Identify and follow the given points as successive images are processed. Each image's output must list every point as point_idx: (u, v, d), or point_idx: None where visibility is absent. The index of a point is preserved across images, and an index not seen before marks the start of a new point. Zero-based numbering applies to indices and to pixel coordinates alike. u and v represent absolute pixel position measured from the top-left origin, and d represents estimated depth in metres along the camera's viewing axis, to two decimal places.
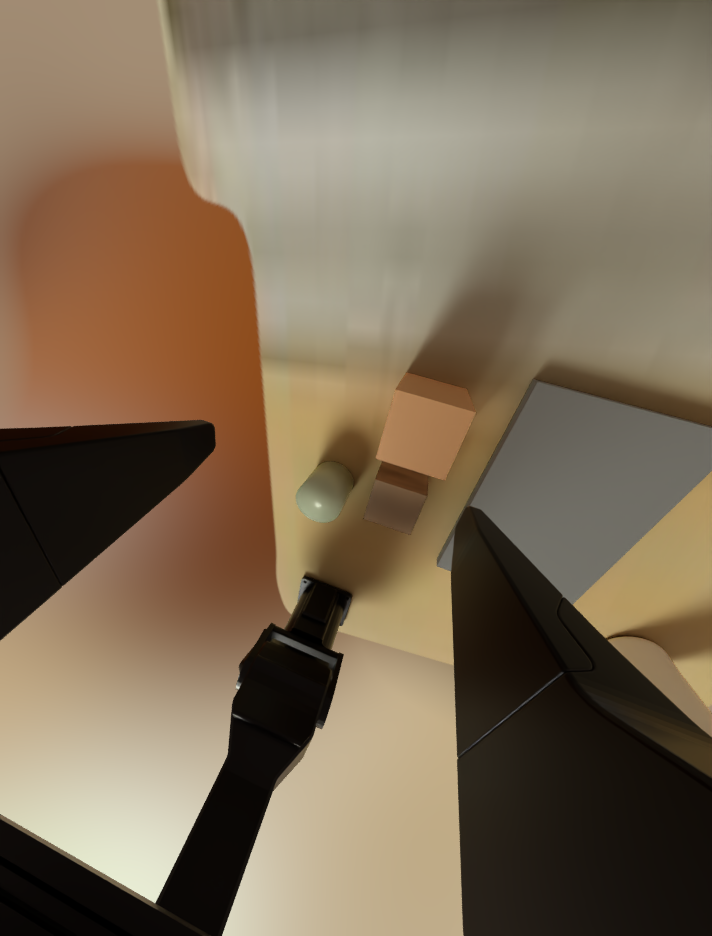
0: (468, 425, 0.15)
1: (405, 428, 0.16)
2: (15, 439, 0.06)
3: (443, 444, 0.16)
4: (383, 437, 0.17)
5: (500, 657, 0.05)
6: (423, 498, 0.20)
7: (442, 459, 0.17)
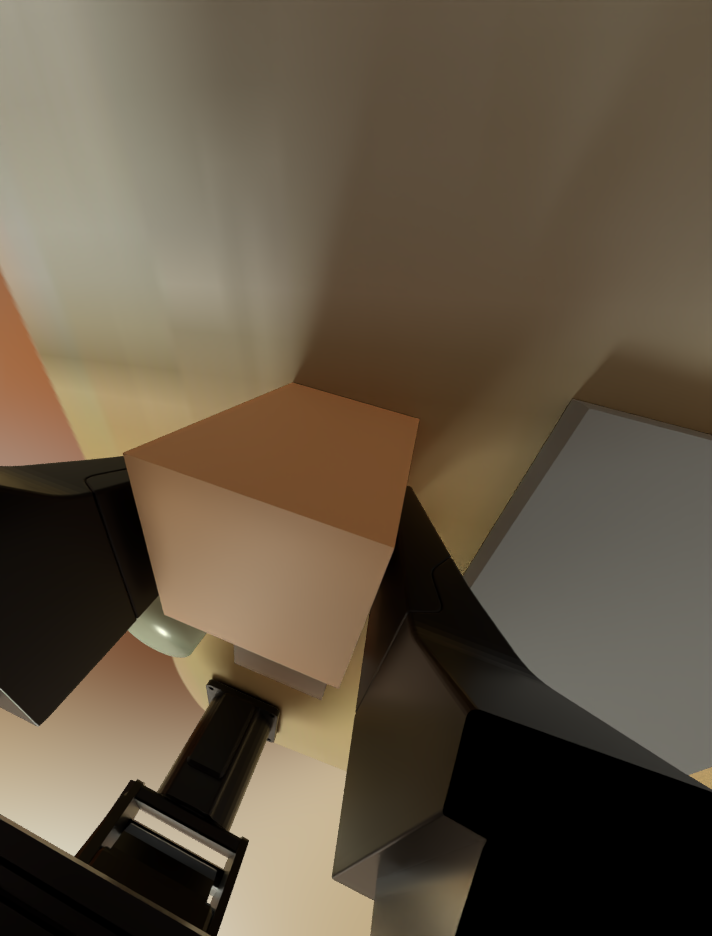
0: (375, 582, 0.04)
1: (198, 562, 0.05)
2: (106, 472, 0.05)
3: (312, 615, 0.05)
4: (157, 574, 0.06)
5: (385, 613, 0.05)
6: None
7: (319, 648, 0.06)
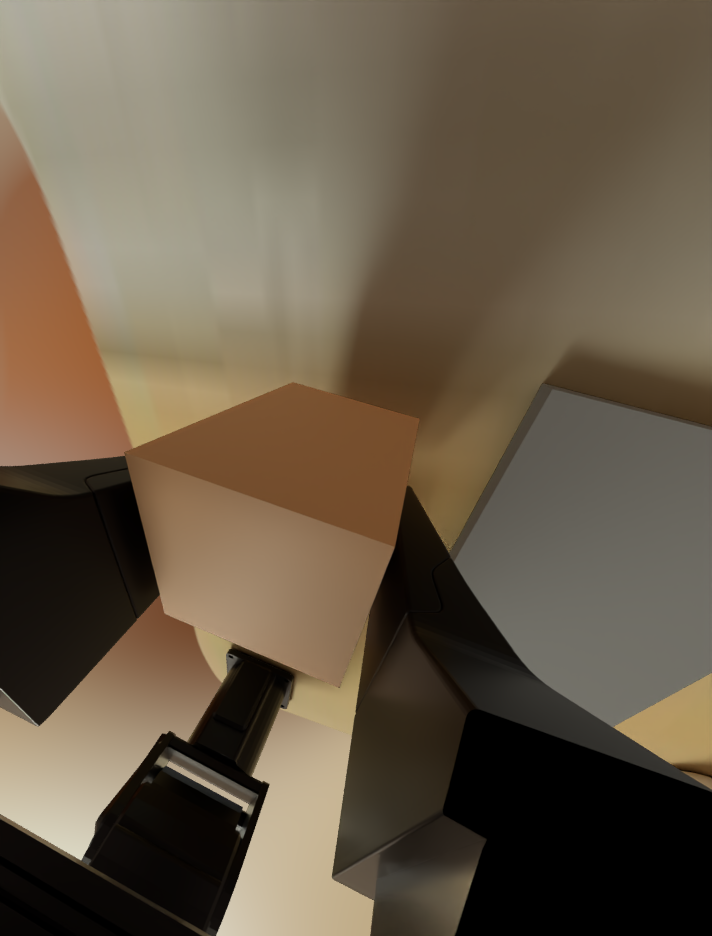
0: (375, 580, 0.04)
1: (200, 561, 0.05)
2: (106, 472, 0.05)
3: (312, 614, 0.05)
4: (159, 574, 0.06)
5: (385, 613, 0.05)
6: None
7: (320, 647, 0.06)
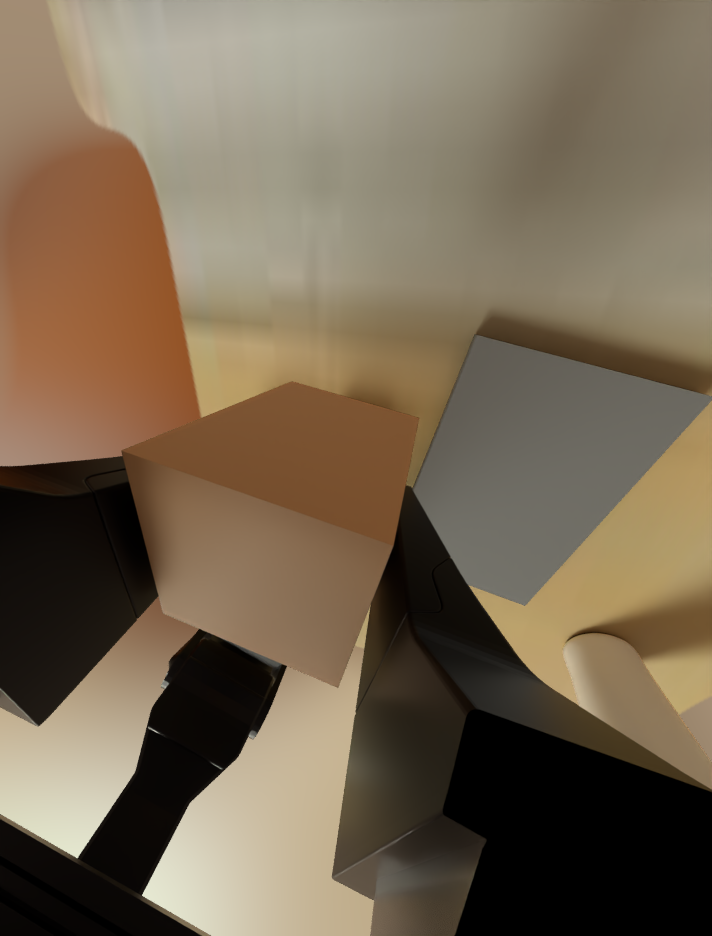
0: (374, 579, 0.04)
1: (198, 560, 0.05)
2: (106, 472, 0.05)
3: (310, 613, 0.05)
4: (156, 573, 0.06)
5: (385, 613, 0.05)
6: None
7: (318, 647, 0.06)
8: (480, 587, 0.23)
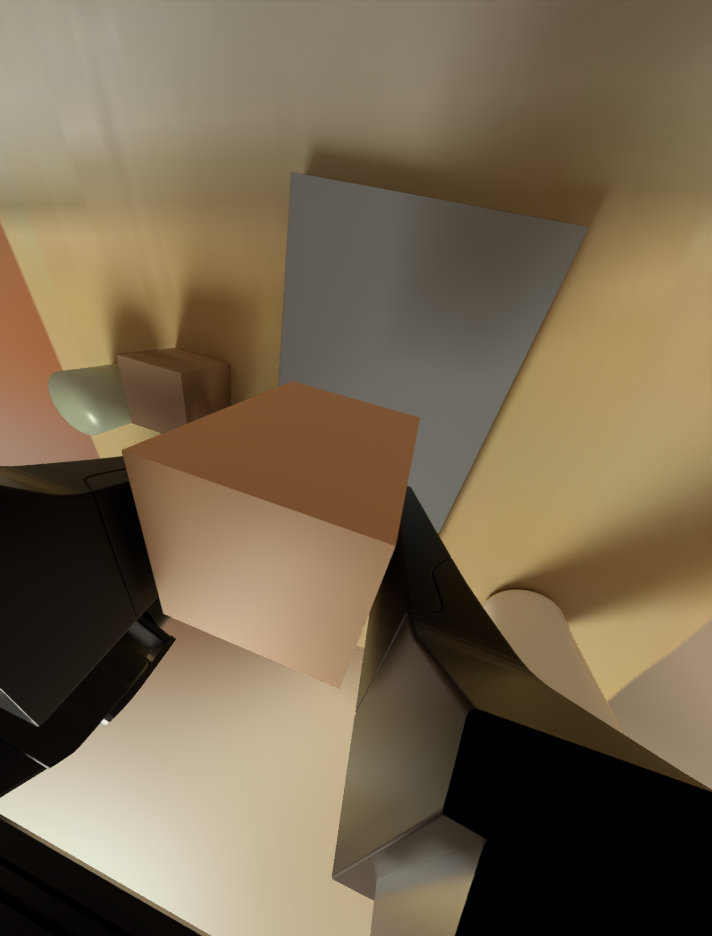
0: (375, 580, 0.04)
1: (198, 560, 0.05)
2: (106, 472, 0.05)
3: (312, 614, 0.05)
4: (157, 573, 0.06)
5: (385, 613, 0.05)
6: (178, 377, 0.14)
7: (319, 647, 0.06)
8: None
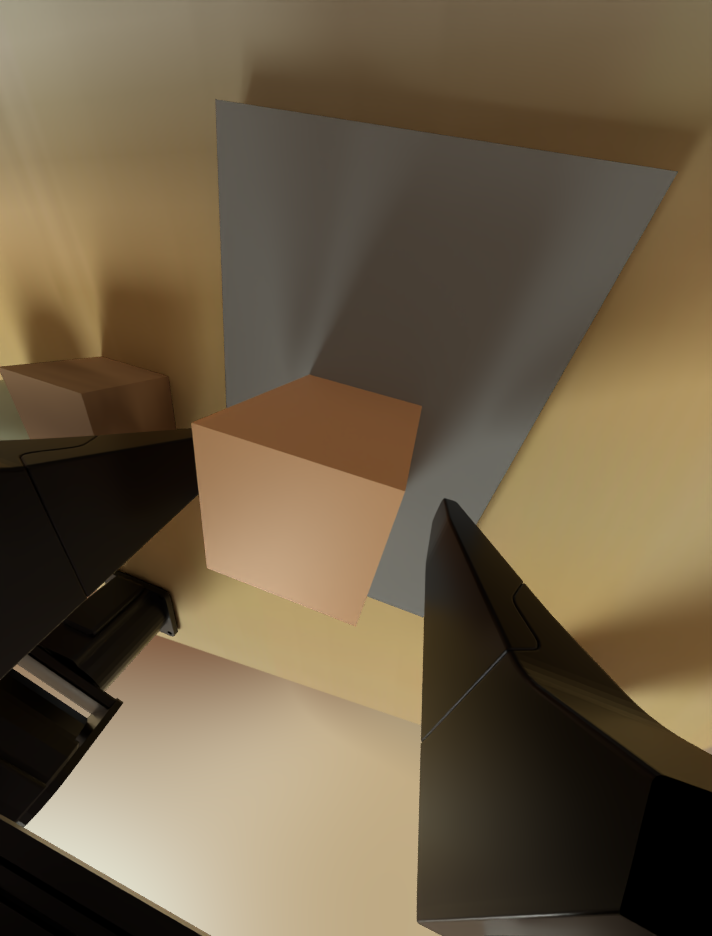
0: (389, 521, 0.05)
1: (244, 515, 0.06)
2: (45, 450, 0.05)
3: (337, 556, 0.06)
4: (206, 530, 0.07)
5: (459, 641, 0.05)
6: (79, 399, 0.11)
7: (341, 588, 0.07)
8: None
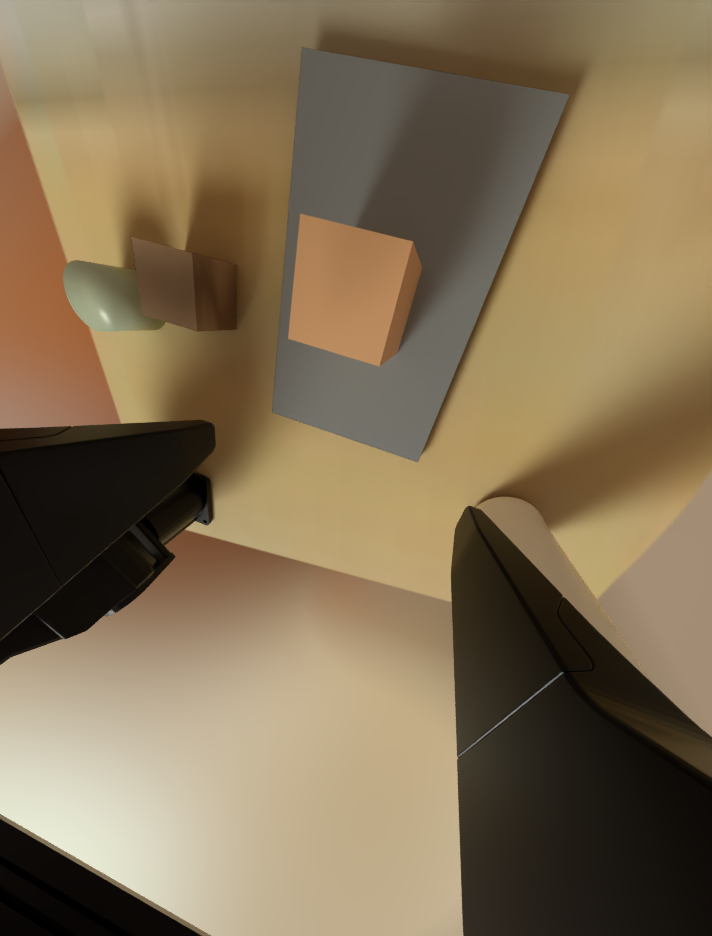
0: (403, 266, 0.11)
1: (320, 282, 0.12)
2: (15, 439, 0.06)
3: (372, 304, 0.11)
4: (294, 301, 0.12)
5: (500, 657, 0.05)
6: (189, 258, 0.15)
7: (373, 331, 0.12)
8: (370, 443, 0.21)
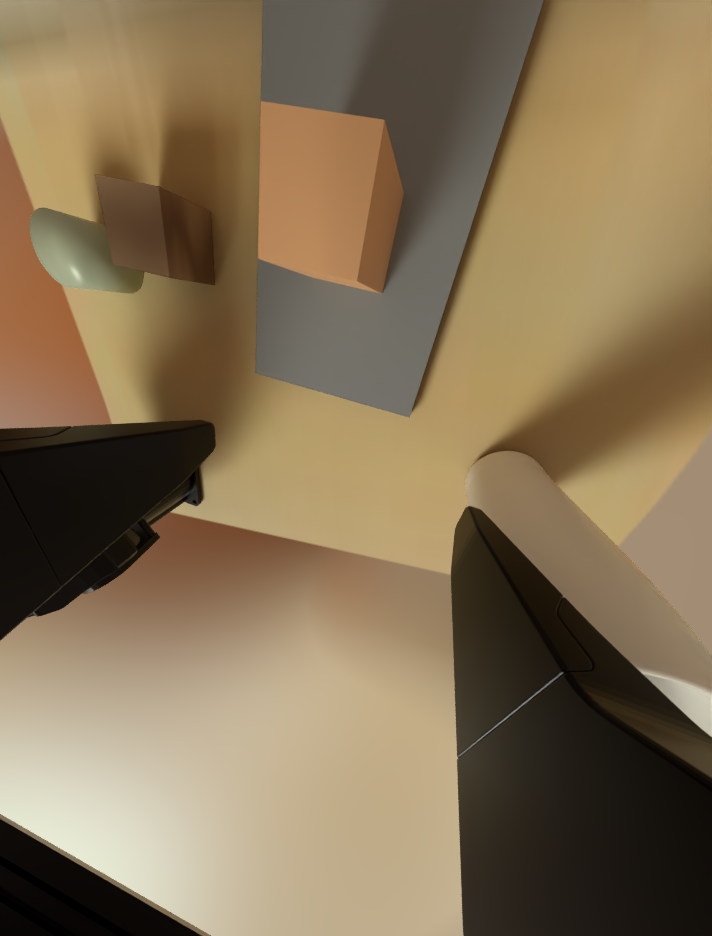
0: (376, 152, 0.10)
1: (288, 184, 0.11)
2: (15, 439, 0.06)
3: (345, 204, 0.10)
4: (261, 212, 0.11)
5: (500, 657, 0.05)
6: (156, 192, 0.15)
7: (347, 238, 0.11)
8: (358, 399, 0.20)
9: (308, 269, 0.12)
